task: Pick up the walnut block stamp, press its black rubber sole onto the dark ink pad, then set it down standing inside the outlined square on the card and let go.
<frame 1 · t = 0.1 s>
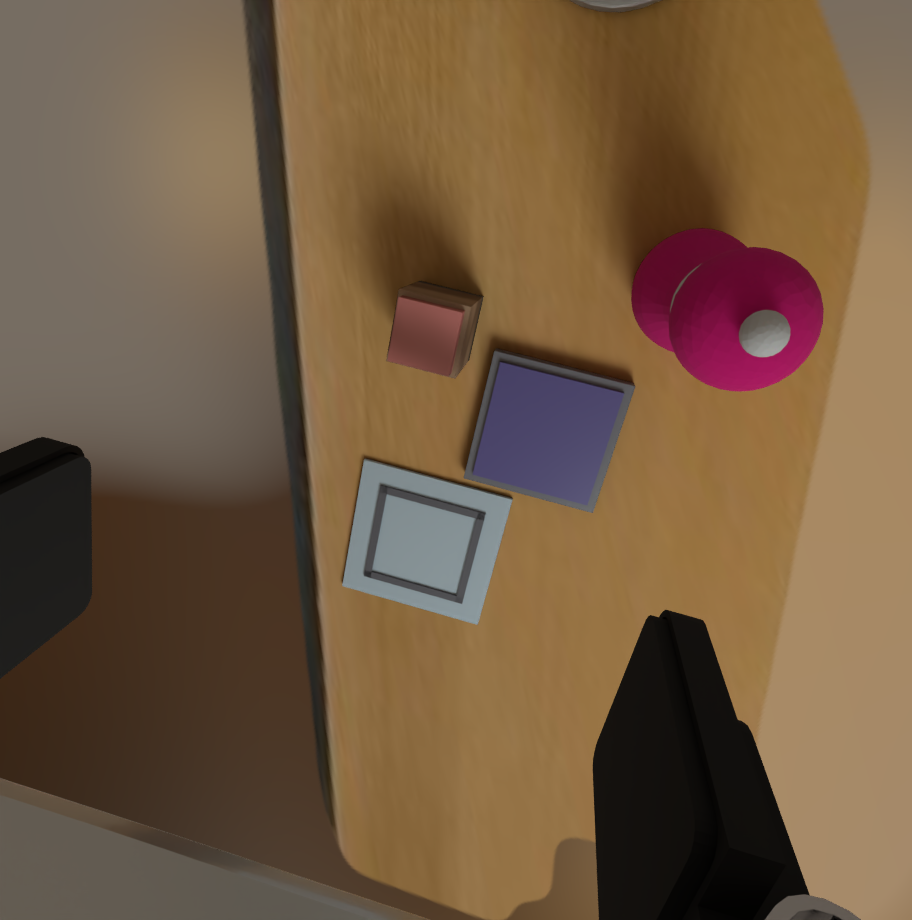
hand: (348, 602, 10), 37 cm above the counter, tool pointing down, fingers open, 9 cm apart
ink pad: (545, 430, 47), on the counter
pepper mill: (682, 285, 42), on the counter
stamp: (445, 320, 45), on the counter
print card: (423, 543, 52), on the counter
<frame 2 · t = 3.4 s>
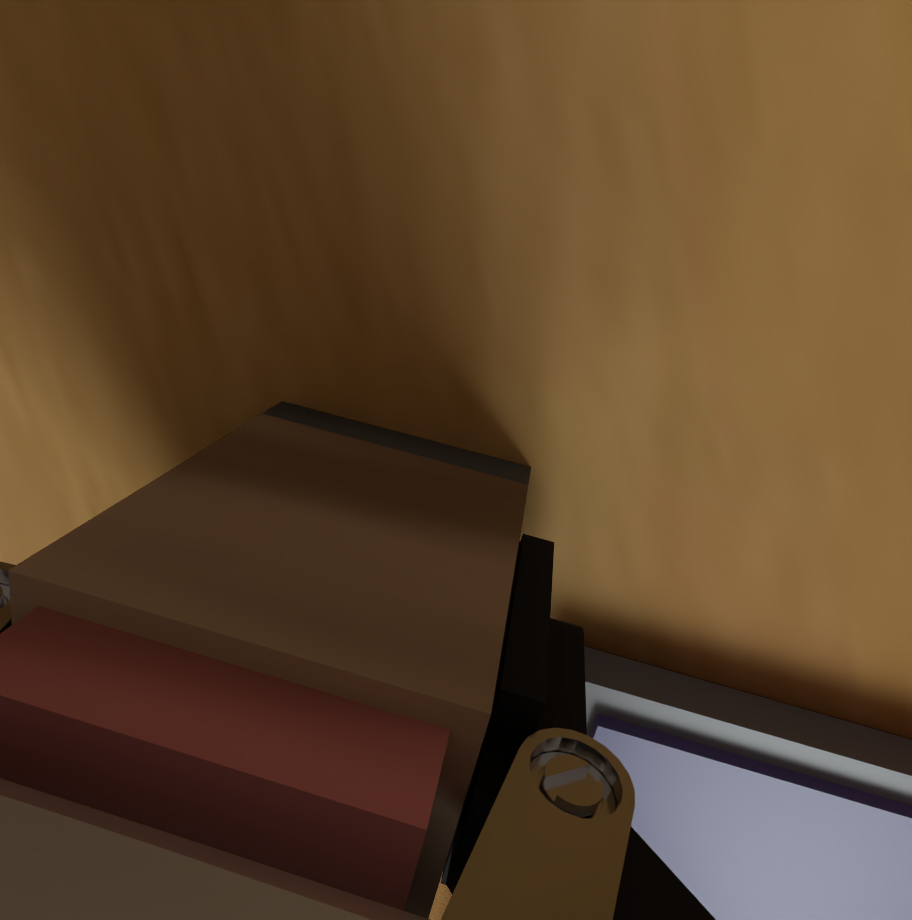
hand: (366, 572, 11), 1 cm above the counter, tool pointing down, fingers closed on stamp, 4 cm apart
ink pad: (736, 893, 14), on the counter
stamp: (382, 544, 12), on the counter, touching gripper
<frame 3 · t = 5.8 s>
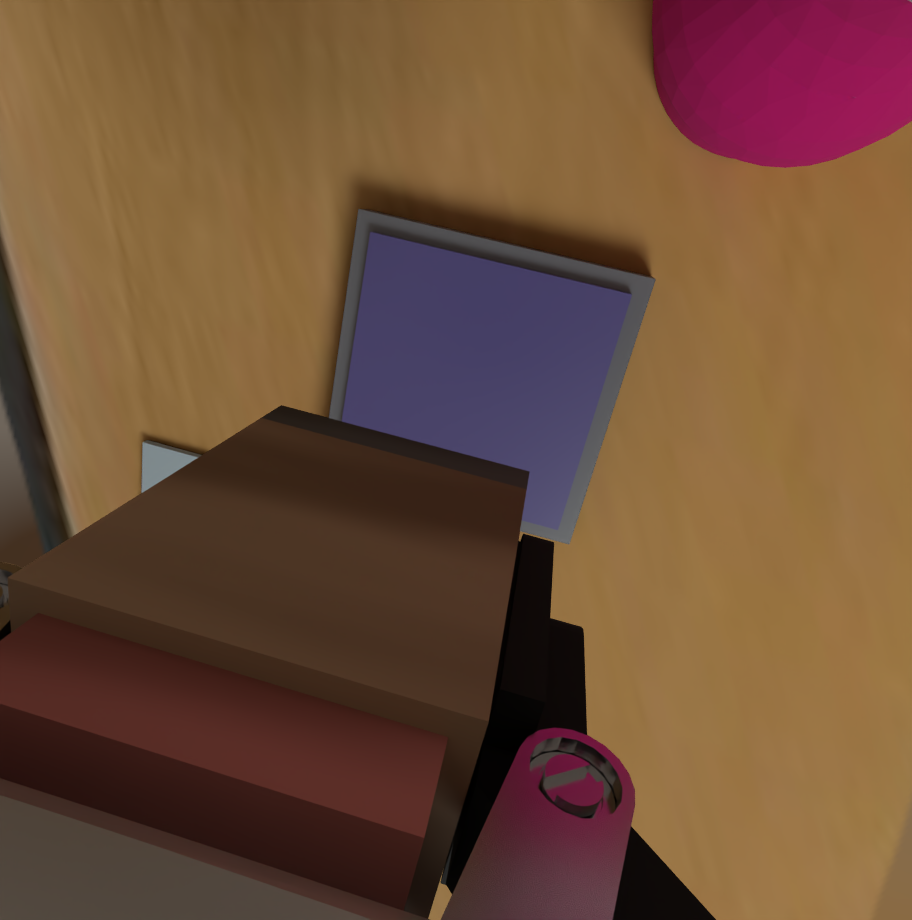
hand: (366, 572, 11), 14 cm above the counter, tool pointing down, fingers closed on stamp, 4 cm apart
ink pad: (474, 381, 23), on the counter
pepper mill: (762, 43, 19), on the counter
stamp: (381, 548, 12), point 12 cm above the counter, touching gripper
print card: (267, 594, 29), on the counter
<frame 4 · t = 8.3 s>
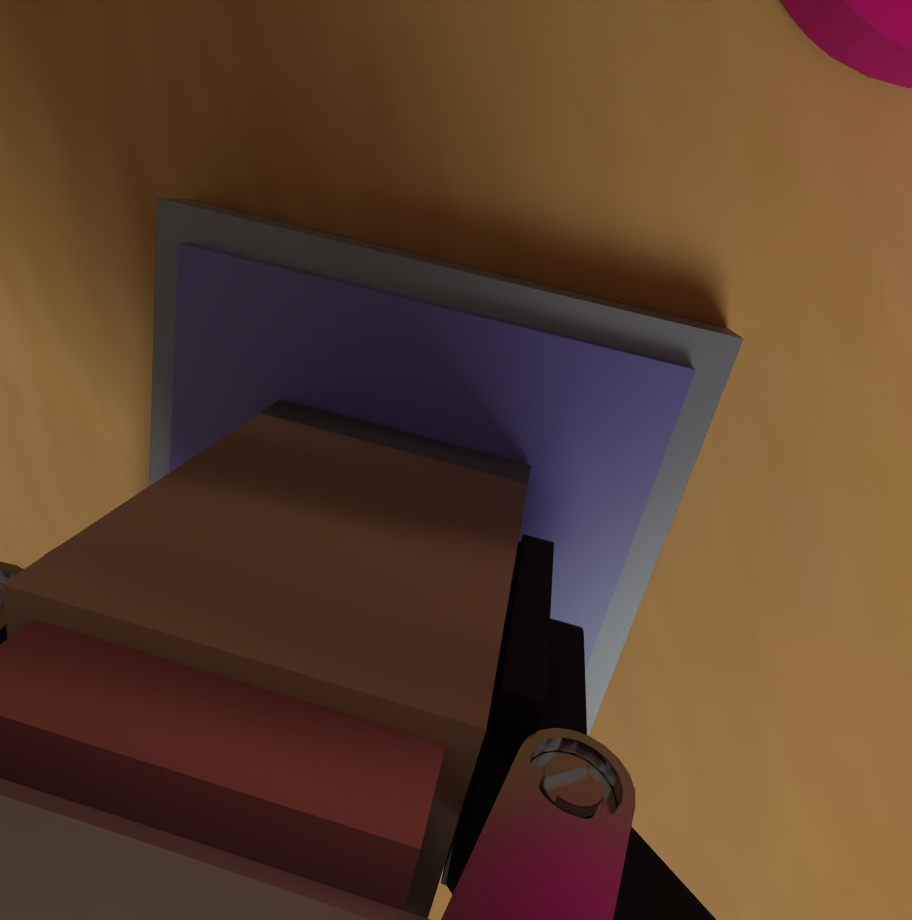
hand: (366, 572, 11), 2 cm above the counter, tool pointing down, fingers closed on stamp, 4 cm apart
ink pad: (401, 506, 13), on the counter
stamp: (382, 542, 12), point 1 cm above the counter, touching gripper, ink pad
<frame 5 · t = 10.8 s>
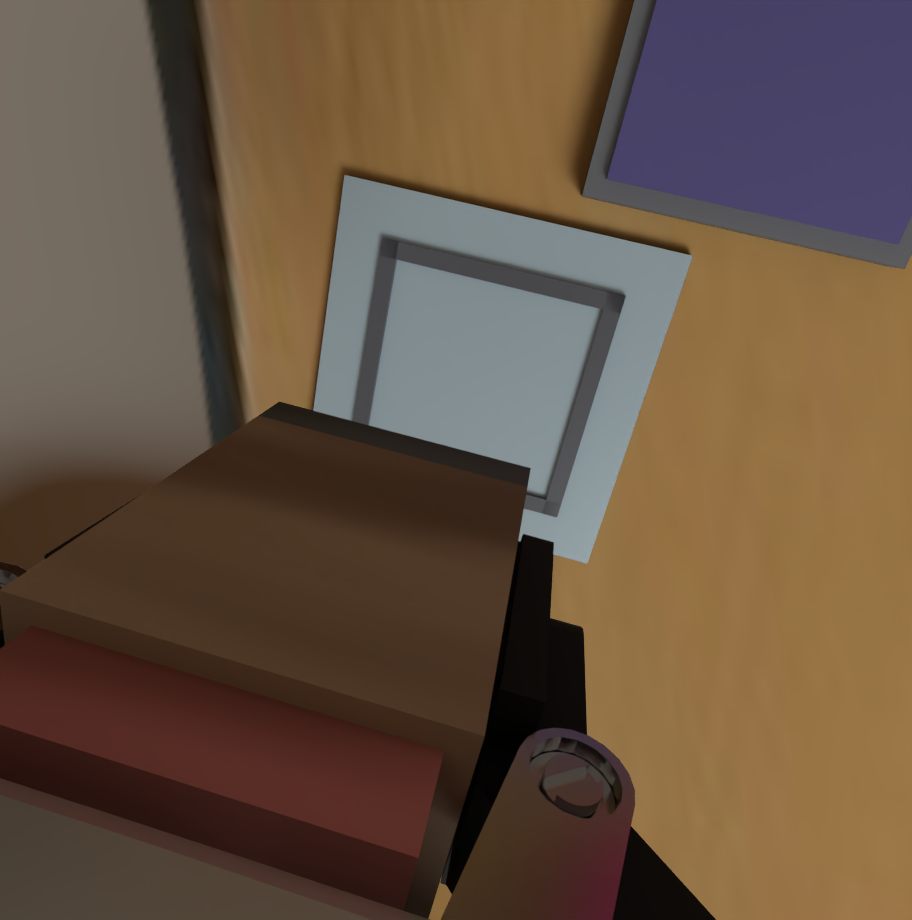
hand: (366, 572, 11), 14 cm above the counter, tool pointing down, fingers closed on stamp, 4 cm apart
ink pad: (796, 54, 19), on the counter
stamp: (382, 544, 12), point 13 cm above the counter, touching gripper
print card: (476, 382, 24), on the counter
when the fingers open (2 cm above the counter, at t = 13.2 s): stamp stays where it is, resting on print card.
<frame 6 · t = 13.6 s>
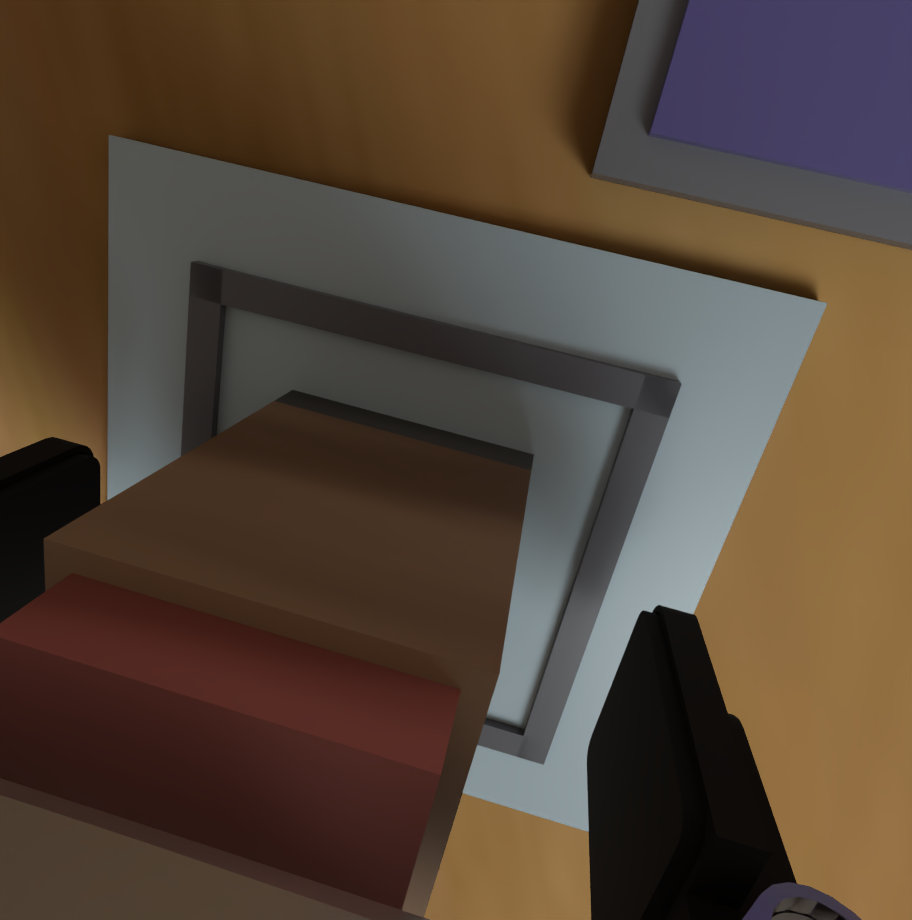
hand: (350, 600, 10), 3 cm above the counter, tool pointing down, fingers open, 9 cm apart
stamp: (389, 530, 12), resting on print card
print card: (392, 528, 13), on the counter
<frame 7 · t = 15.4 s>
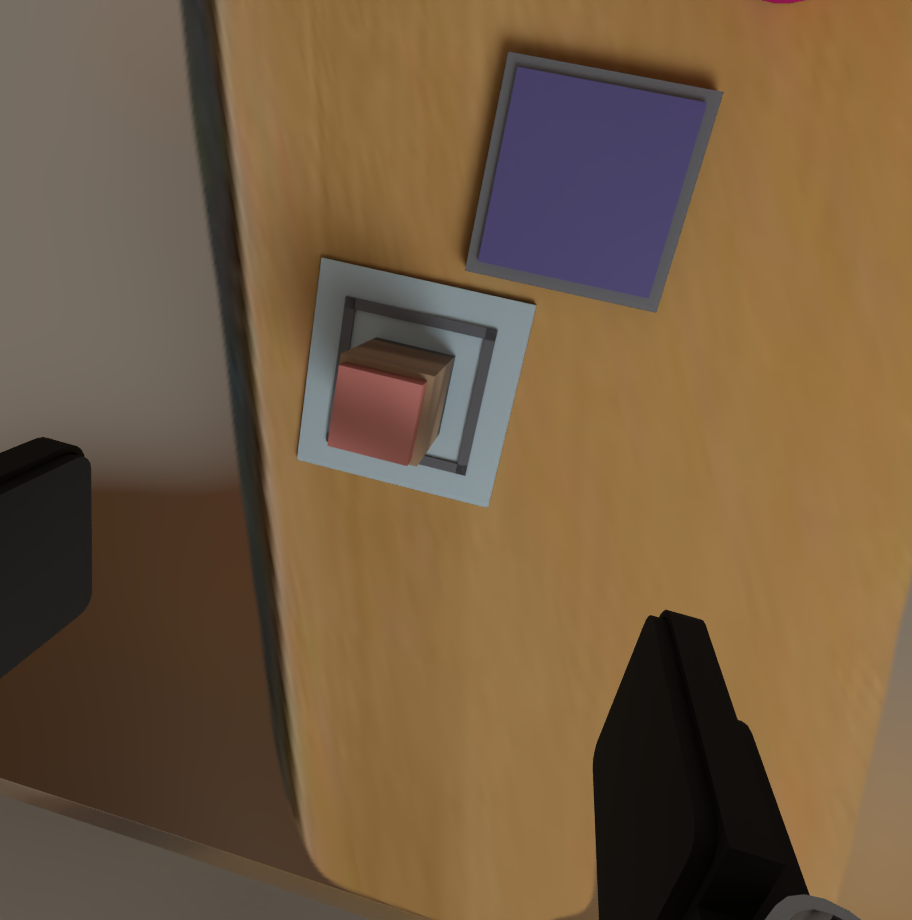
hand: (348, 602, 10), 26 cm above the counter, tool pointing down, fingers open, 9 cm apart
ink pad: (584, 189, 32), on the counter
stamp: (408, 386, 36), resting on print card
print card: (409, 386, 36), on the counter
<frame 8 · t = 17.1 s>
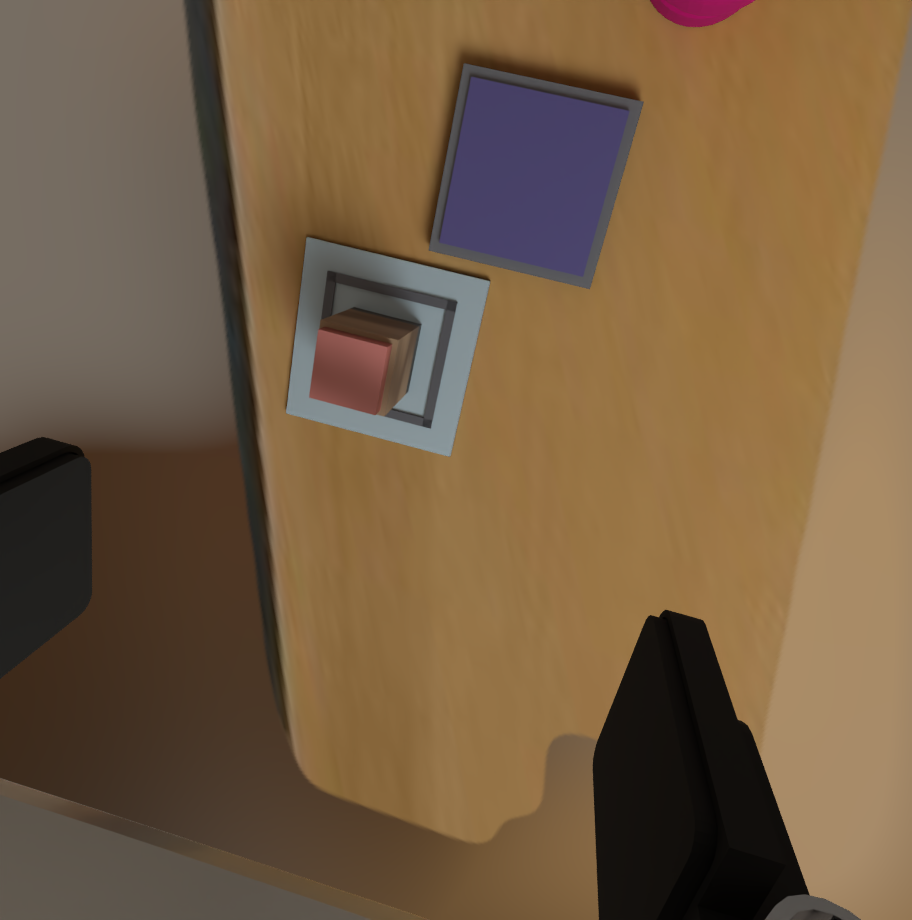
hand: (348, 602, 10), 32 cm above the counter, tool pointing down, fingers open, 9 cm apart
ink pad: (530, 181, 37), on the counter
stamp: (381, 349, 42), resting on print card
print card: (382, 350, 42), on the counter
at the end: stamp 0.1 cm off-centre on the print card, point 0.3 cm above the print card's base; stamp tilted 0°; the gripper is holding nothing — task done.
